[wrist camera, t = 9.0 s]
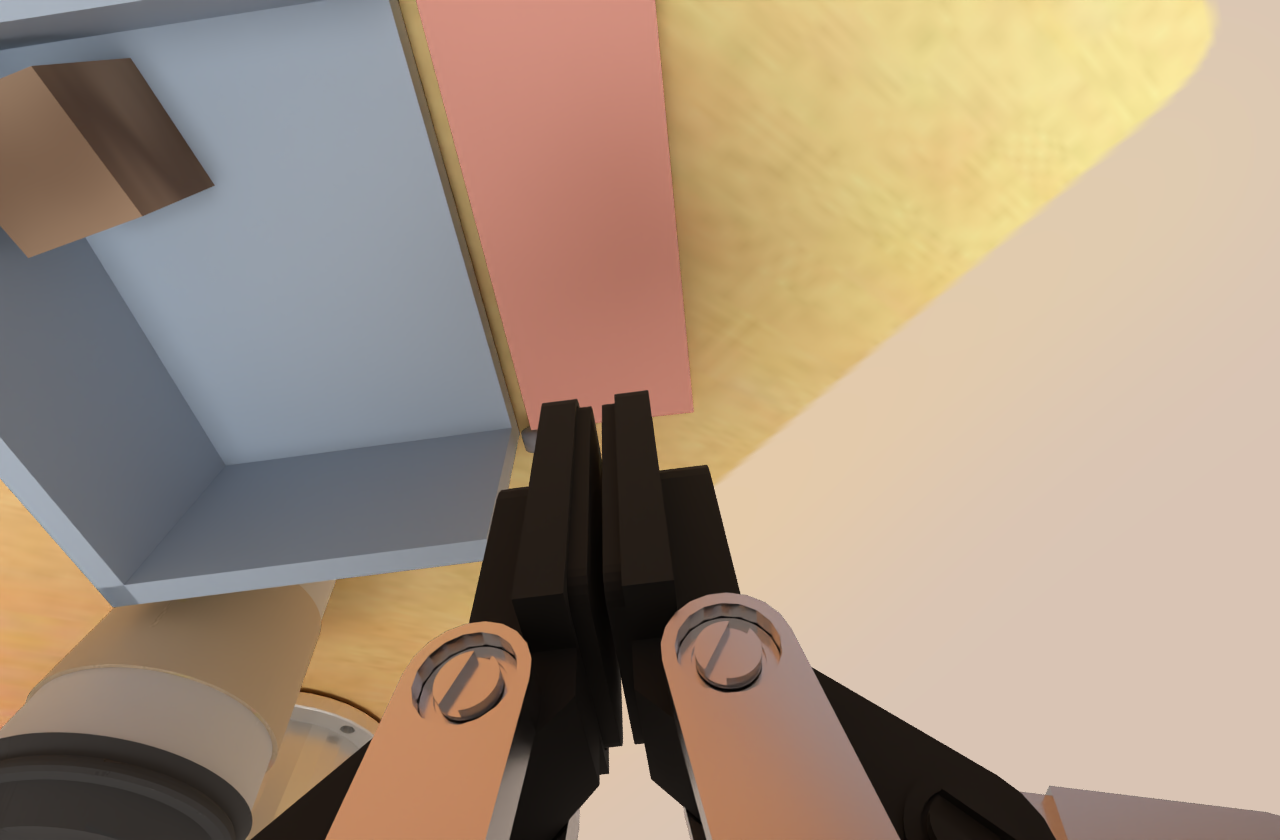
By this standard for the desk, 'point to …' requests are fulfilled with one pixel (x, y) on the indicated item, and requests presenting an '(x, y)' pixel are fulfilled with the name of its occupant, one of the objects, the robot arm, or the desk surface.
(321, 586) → the coffee cup
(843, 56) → the desk surface
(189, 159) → the cargo block
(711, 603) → the robot arm
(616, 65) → the tailgate
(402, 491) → the tray
